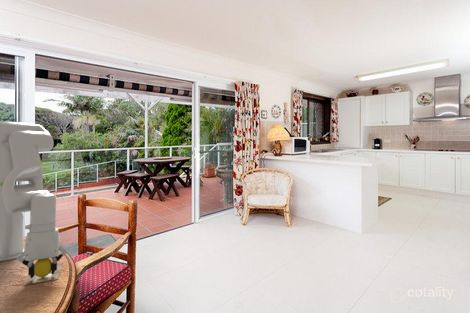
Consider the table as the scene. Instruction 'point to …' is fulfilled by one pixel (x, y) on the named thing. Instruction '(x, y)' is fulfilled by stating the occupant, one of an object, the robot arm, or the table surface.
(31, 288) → the table surface
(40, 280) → the label board
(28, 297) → the table surface
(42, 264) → the lemon
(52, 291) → the table surface
